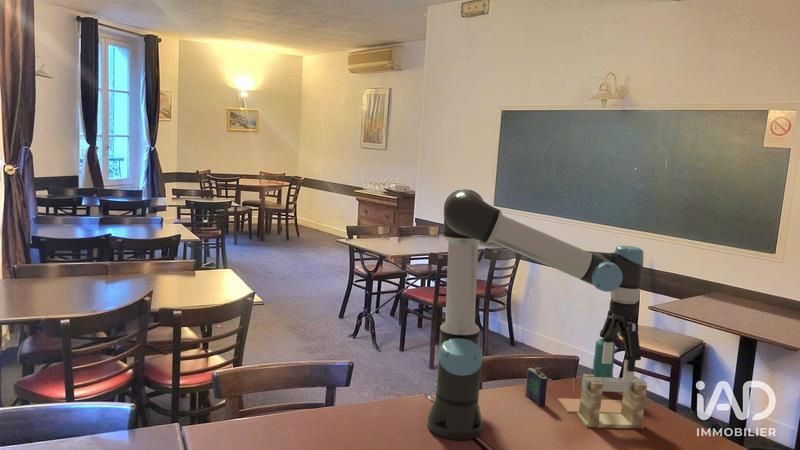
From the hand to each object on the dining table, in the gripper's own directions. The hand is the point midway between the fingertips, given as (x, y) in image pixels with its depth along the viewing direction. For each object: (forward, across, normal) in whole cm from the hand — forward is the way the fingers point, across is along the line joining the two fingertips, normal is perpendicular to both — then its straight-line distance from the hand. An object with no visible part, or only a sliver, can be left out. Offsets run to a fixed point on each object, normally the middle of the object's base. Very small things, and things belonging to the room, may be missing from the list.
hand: (616, 372), depth 167 cm
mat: (+15, +10, 0) cm, 18 cm away
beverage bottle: (+16, +25, -8) cm, 30 cm away
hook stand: (+15, 0, 0) cm, 15 cm away
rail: (+5, 0, 0) cm, 5 cm away
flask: (+15, +14, +18) cm, 28 cm away
